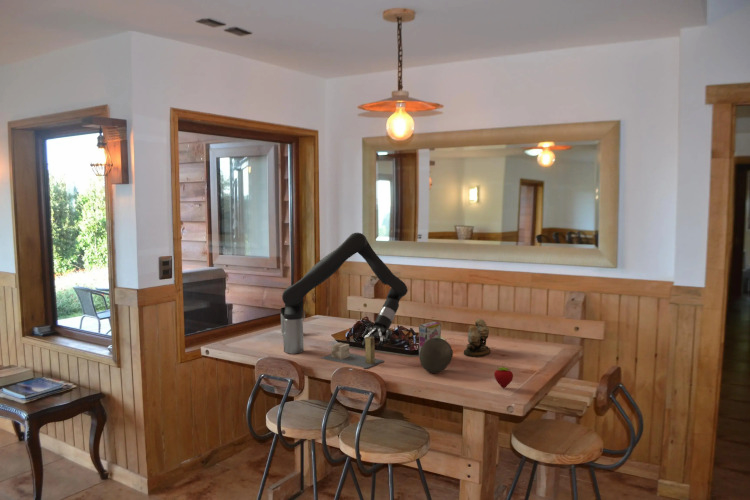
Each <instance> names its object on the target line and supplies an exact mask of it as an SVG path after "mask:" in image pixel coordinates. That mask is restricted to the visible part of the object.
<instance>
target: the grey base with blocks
mask: <svg viewBox="0 0 750 500" xmlns="http://www.w3.org/2000/svg"><path fill="white" fill-rule="evenodd" d="M375 346H376V345H375V337H370V336H369V337H366V338H365V347H364V348H365V356H364V355H360V354H359V355H358V354H354V353H350V352H349V357H346V358H344V359H337V358H332V353H331V354H328V355H325V356H322V357H320V359H322V360H327V361H332V362H335V363H341V364H344V365H345V364H346V365H350V366H355V367H360V368H363V369H364V370H367V369H370V368H372V367H374V366H377V365H379V364H382V363H384V362H385V360H384V359H379V358H375V357H376V356H375V354H376V352H375V349H376V348H375Z"/></svg>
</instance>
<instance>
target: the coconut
mask: <svg viewBox="0 0 750 500" xmlns="http://www.w3.org/2000/svg"><path fill="white" fill-rule="evenodd" d="M453 354H454V351H453V348H452V346H451V344H450V343H449V342H448V341H447V340H446V339H443V338H442V337H441V338H431V339H429V340H427V341H426V342H425V343H424V344H423V346H422V348H421V350H420V355H419V354H418V357H419V356H420V359H419V362H420V365H421V367H422V369H424V370H425V371H426V372H429V373H430V374H436V373H440V372H442V371H444V370H445V369H447V367H448V366H449V365H450V364H451V362H452V360H453V357H454V355H453Z"/></svg>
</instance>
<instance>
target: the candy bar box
mask: <svg viewBox="0 0 750 500" xmlns="http://www.w3.org/2000/svg"><path fill="white" fill-rule="evenodd" d="M441 327H442V323H441V322H437V321H430V322H426V323H422V324H418V359H419V360H420V356H419V355H420V350H421V348H422V346H423V344H424V343H425V342H426V341H427V340H429V339H431V338H441V339H442V337H441V332H442V328H441Z"/></svg>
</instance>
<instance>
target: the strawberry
mask: <svg viewBox="0 0 750 500" xmlns="http://www.w3.org/2000/svg"><path fill="white" fill-rule="evenodd" d="M503 365H504V364H502V366H501V367H498V369H496V370H495V371H494V374H493V376H494V379H495V381H496V382H497V383H498V385H499V386H500V387H501V388H502V389H505V388H507V387H508V386H509V384H511V382H512V381H513V379H514V373H513V371H510V370H511V369H510V368H508V367H505V366H503Z"/></svg>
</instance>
